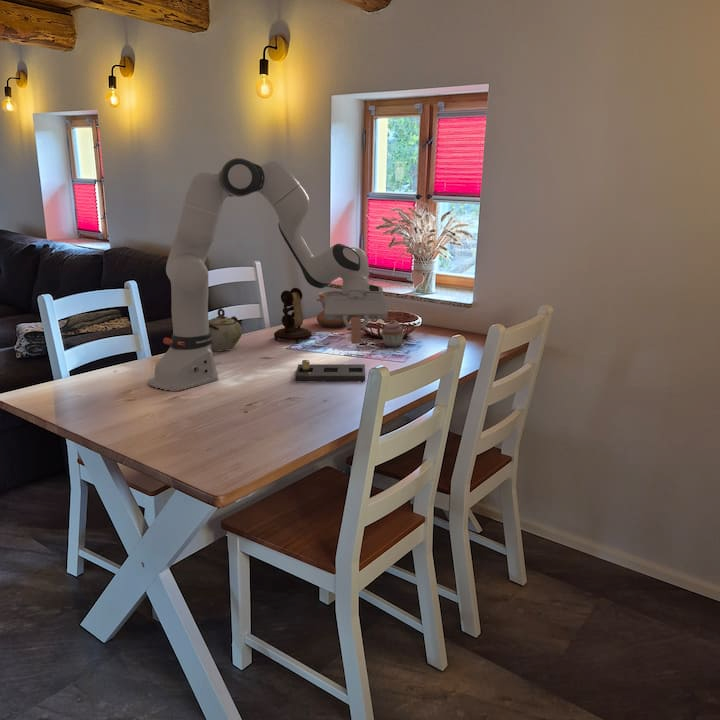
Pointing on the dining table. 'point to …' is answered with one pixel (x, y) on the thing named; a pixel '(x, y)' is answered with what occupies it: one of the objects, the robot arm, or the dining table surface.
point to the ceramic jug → (321, 316)
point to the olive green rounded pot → (224, 331)
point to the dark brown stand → (292, 317)
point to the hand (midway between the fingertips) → (356, 329)
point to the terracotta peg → (355, 330)
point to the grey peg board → (330, 372)
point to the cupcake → (392, 334)
